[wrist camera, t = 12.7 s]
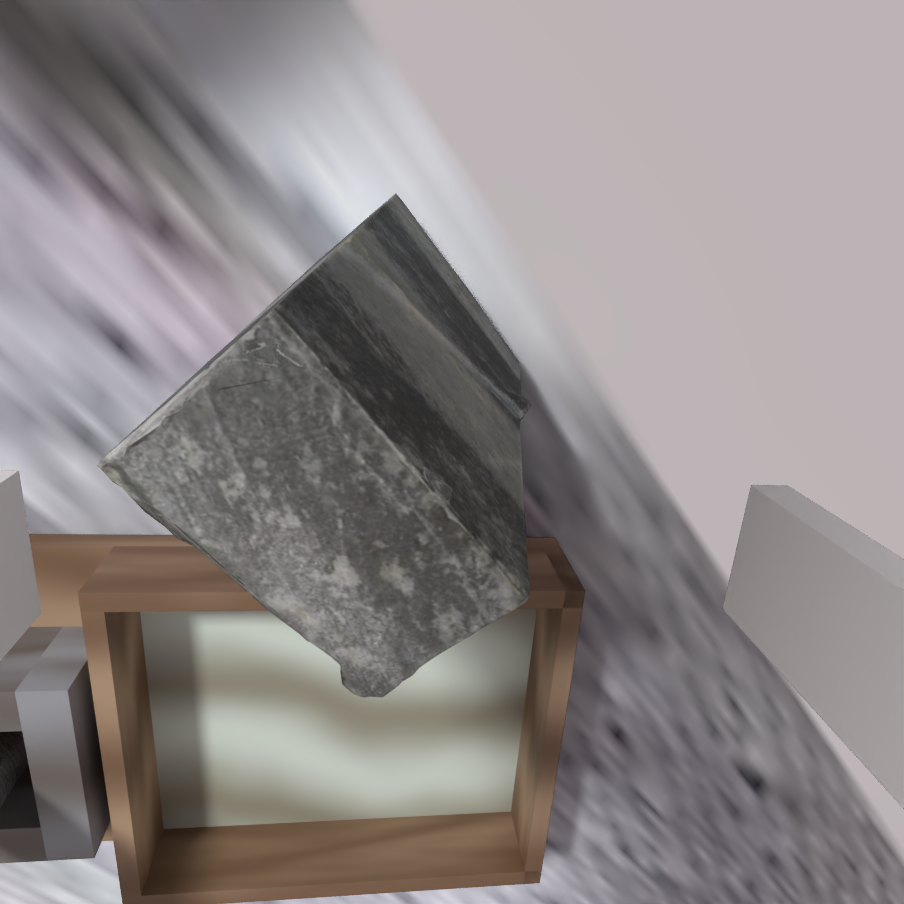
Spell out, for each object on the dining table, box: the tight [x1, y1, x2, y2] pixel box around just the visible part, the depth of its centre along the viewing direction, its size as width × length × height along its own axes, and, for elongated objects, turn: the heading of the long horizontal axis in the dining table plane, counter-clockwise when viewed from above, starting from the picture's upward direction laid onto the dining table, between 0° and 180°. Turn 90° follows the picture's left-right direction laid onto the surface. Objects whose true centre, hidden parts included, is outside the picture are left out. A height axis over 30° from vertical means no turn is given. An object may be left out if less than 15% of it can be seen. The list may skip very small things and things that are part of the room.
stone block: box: [97, 194, 531, 698], centre depth 19 cm, size 9×14×5 cm
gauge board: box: [0, 534, 585, 904], centre depth 28 cm, size 16×28×5 cm, turn 86°
